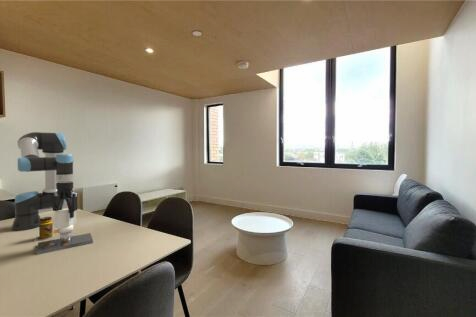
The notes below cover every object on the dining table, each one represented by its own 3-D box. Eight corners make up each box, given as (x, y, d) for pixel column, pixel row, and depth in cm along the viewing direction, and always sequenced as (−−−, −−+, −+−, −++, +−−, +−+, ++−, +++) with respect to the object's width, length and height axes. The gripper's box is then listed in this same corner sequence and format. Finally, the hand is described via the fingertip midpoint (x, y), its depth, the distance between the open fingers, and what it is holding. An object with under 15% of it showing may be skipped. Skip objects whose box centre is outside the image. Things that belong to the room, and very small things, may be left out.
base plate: (38, 245, 124) (38, 232, 124) (90, 235, 139) (90, 224, 139) (36, 254, 113) (36, 240, 113) (92, 242, 128) (92, 230, 128)
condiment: (52, 238, 134) (52, 218, 134) (33, 241, 129) (33, 220, 129) (54, 234, 140) (53, 215, 140) (36, 237, 136) (35, 217, 135)
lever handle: (71, 227, 131) (71, 207, 131) (78, 229, 128) (77, 208, 128) (50, 233, 123) (50, 211, 122) (57, 235, 119) (57, 212, 119)
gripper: (43, 182, 122) (43, 225, 122) (75, 183, 121) (75, 226, 121) (55, 180, 129) (55, 221, 130) (85, 181, 128) (85, 221, 129)
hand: (65, 223), depth 126 cm, fingers closed on lever handle, 5 cm apart
